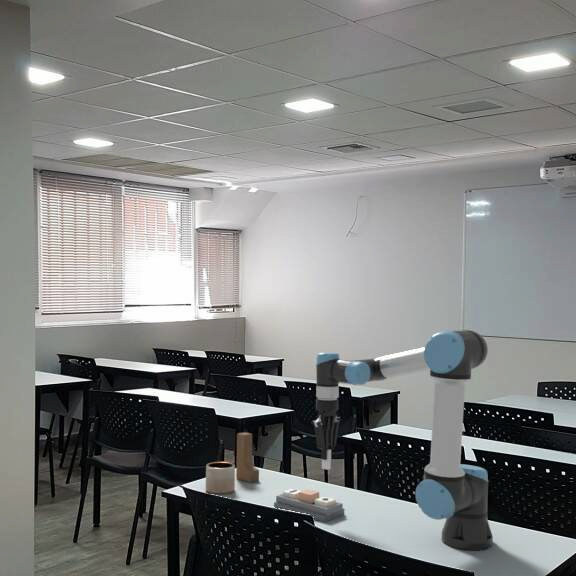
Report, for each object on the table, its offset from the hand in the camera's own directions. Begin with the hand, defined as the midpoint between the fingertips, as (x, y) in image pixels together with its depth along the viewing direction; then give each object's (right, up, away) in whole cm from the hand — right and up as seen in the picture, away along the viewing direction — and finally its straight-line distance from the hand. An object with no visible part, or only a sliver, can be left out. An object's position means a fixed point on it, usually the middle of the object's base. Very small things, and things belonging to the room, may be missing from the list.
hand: (326, 468), depth 242 cm
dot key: (0, -13, 0) cm, 13 cm away
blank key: (-6, -12, +5) cm, 14 cm away
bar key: (-11, -13, +9) cm, 20 cm away
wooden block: (-29, -16, +44) cm, 55 cm away
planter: (-38, -16, +28) cm, 50 cm away
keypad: (-6, -16, +5) cm, 17 cm away
